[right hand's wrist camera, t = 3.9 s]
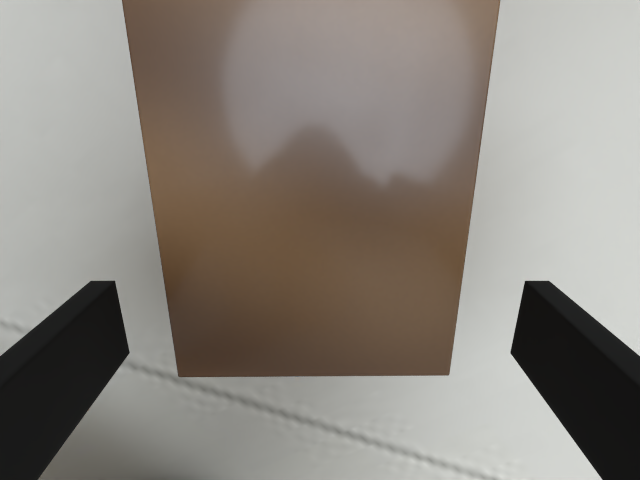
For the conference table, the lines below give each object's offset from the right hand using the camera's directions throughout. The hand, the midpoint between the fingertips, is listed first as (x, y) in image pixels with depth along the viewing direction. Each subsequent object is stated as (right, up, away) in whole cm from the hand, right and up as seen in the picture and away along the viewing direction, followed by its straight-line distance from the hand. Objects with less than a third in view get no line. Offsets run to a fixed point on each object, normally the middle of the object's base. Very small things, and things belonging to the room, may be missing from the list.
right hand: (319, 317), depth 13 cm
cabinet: (0, +10, +6) cm, 12 cm away
